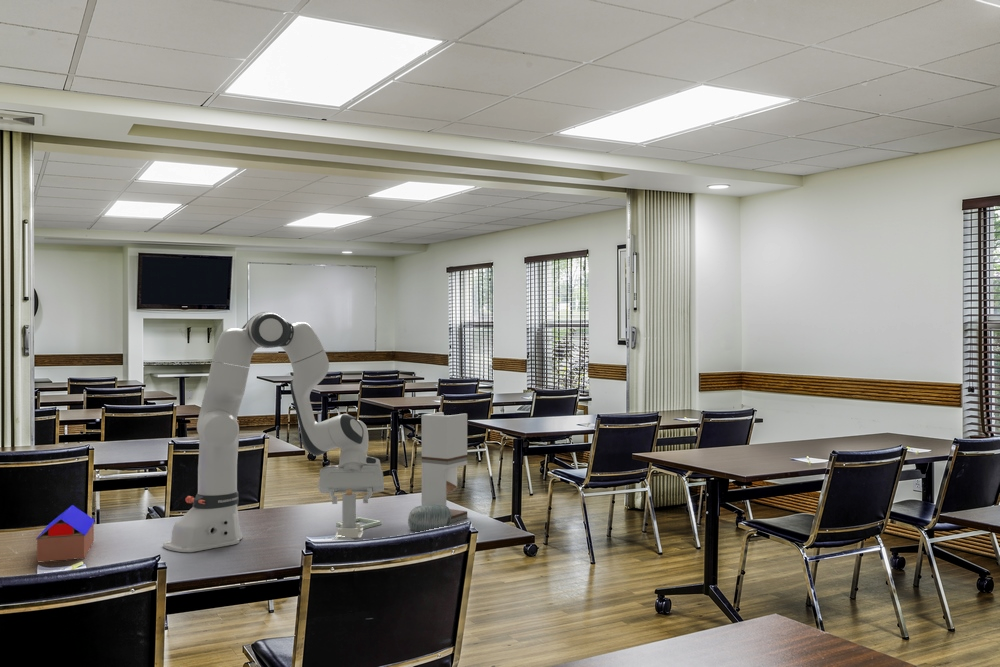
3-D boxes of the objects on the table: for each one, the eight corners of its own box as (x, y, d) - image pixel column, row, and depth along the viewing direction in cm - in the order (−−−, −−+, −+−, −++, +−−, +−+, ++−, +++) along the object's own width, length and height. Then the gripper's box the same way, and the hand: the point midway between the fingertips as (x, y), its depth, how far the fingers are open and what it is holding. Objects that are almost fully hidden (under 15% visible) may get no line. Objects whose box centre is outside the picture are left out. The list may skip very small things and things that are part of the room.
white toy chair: (334, 540, 240) (334, 529, 240) (338, 531, 251) (338, 520, 251) (361, 540, 240) (361, 528, 240) (364, 531, 252) (364, 520, 252)
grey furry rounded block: (447, 514, 260) (444, 491, 255) (456, 533, 252) (452, 509, 247) (407, 527, 256) (402, 503, 251) (414, 547, 249) (410, 523, 244)
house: (95, 542, 239) (95, 503, 239) (85, 559, 220) (85, 517, 220) (49, 546, 235) (49, 506, 235) (35, 564, 216) (35, 520, 216)
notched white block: (447, 524, 261) (447, 416, 261) (421, 520, 267) (421, 414, 267) (467, 517, 271) (467, 413, 271) (441, 513, 276) (441, 412, 277)
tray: (358, 532, 249) (358, 526, 249) (336, 528, 255) (336, 522, 255) (381, 526, 257) (381, 521, 257) (358, 522, 263) (358, 517, 263)
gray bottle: (348, 536, 241) (348, 491, 241) (339, 534, 243) (339, 489, 244) (358, 534, 244) (358, 489, 244) (349, 532, 247) (349, 487, 247)
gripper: (319, 460, 253) (314, 497, 243) (384, 459, 255) (382, 496, 245) (321, 472, 257) (316, 509, 248) (385, 471, 259) (383, 507, 249)
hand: (350, 502), depth 246 cm, fingers open, 8 cm apart
